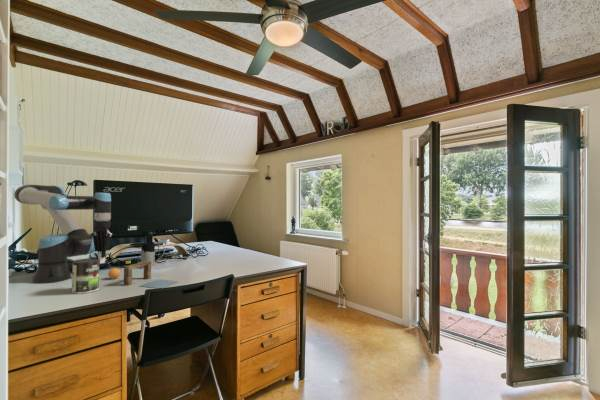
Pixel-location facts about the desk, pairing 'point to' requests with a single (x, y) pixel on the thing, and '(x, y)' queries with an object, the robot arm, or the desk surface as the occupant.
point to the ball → (114, 273)
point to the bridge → (129, 268)
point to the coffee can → (85, 276)
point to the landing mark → (159, 283)
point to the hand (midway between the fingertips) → (101, 263)
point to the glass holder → (149, 253)
